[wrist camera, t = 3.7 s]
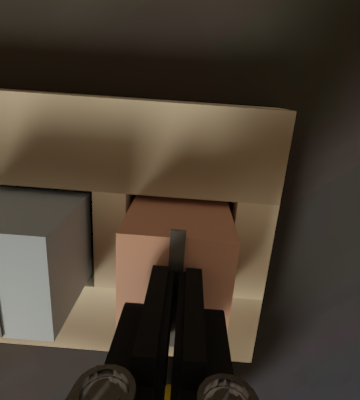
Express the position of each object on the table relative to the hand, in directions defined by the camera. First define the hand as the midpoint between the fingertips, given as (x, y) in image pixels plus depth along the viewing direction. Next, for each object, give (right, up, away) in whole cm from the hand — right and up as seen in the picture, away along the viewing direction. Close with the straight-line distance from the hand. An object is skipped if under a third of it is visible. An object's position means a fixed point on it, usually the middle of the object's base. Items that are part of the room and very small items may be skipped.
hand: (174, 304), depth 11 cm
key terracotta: (0, +2, +4) cm, 5 cm away
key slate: (-6, +2, +4) cm, 7 cm away
